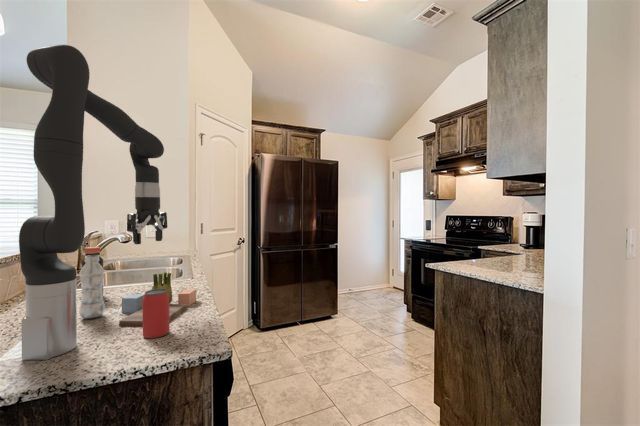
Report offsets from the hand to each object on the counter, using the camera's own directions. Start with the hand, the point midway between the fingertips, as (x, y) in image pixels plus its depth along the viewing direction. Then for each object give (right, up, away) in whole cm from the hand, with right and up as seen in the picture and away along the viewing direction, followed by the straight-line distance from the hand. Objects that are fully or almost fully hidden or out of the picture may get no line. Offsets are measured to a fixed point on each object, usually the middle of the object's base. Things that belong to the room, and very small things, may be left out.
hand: (148, 242), depth 103 cm
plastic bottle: (-14, -24, -7) cm, 28 cm away
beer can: (+14, -24, -21) cm, 35 cm away
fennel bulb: (+2, -24, +5) cm, 24 cm away
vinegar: (-31, -24, +15) cm, 41 cm away
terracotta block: (+10, -24, +7) cm, 27 cm away
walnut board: (+6, -24, -7) cm, 25 cm away
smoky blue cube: (-5, -24, -1) cm, 24 cm away
